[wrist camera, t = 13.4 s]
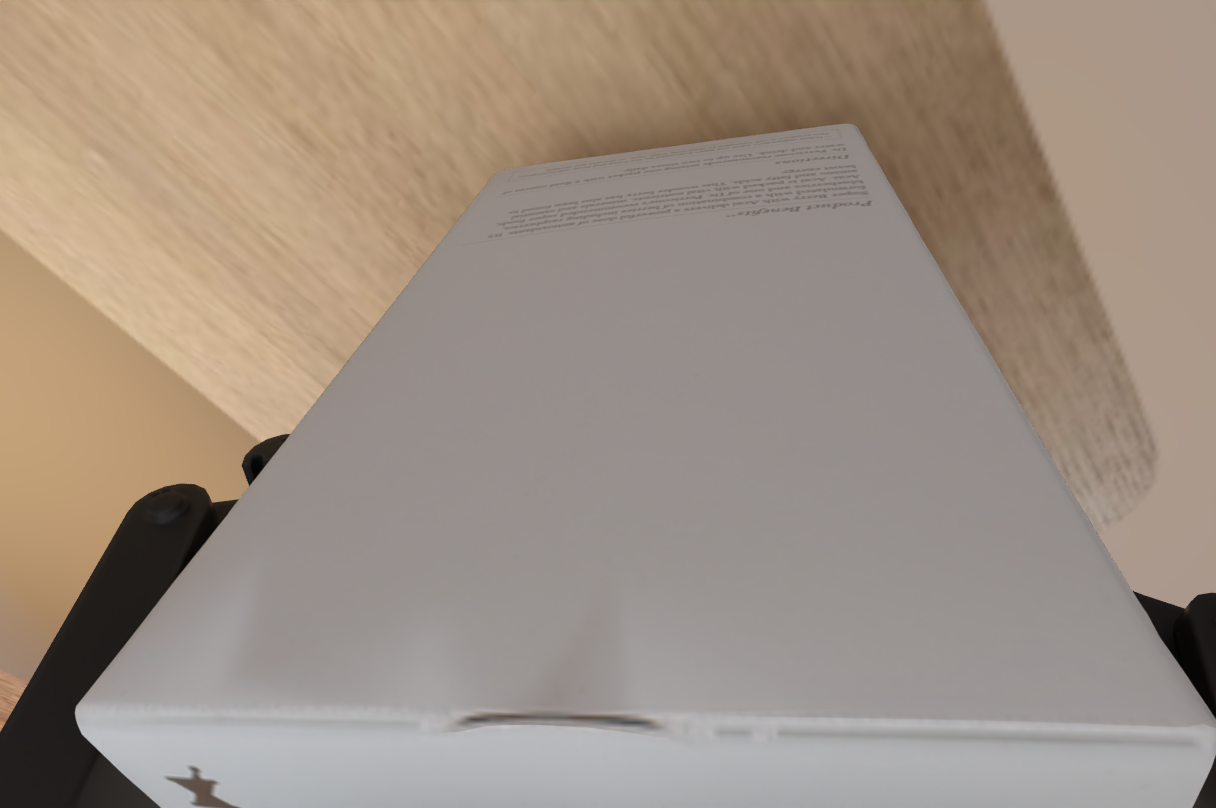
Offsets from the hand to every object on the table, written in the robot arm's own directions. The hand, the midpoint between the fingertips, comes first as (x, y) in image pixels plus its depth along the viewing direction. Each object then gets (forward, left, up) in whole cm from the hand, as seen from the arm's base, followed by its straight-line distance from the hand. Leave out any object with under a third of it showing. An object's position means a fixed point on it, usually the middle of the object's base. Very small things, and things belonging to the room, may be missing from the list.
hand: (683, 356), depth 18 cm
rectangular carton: (0, 0, -3) cm, 3 cm away
